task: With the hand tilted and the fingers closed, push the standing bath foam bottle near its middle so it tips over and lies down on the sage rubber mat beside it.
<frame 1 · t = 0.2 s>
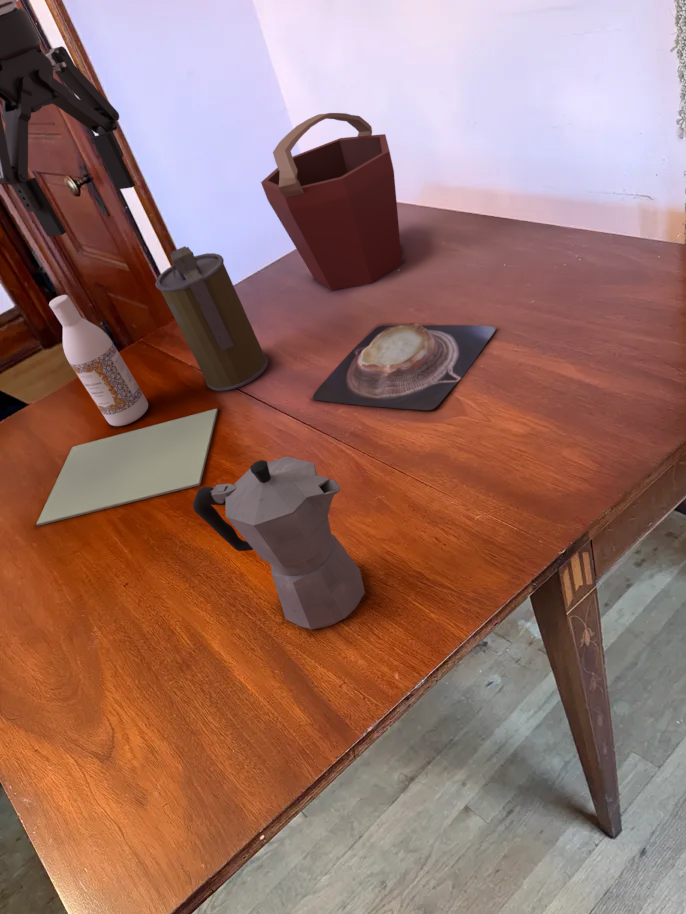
hand: (93, 210, 96), 30 cm above the table, tool pointing down, fingers open, 13 cm apart
coffeepot: (315, 597, 78), on the table
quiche: (404, 365, 108), on the table
bath foam: (130, 415, 119), on the table
bucket: (357, 267, 137), on the table
mat: (132, 465, 107), on the table
canister: (238, 374, 119), on the table
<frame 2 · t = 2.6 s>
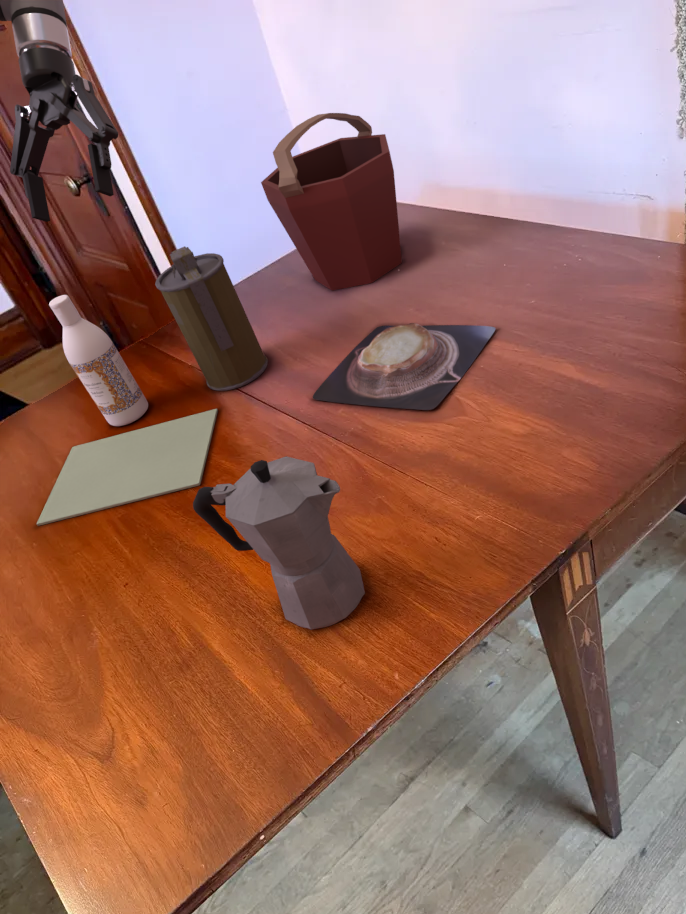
hand: (72, 206, 112), 27 cm above the table, tool tilted 40°, fingers open, 13 cm apart
nothing on the table moved.
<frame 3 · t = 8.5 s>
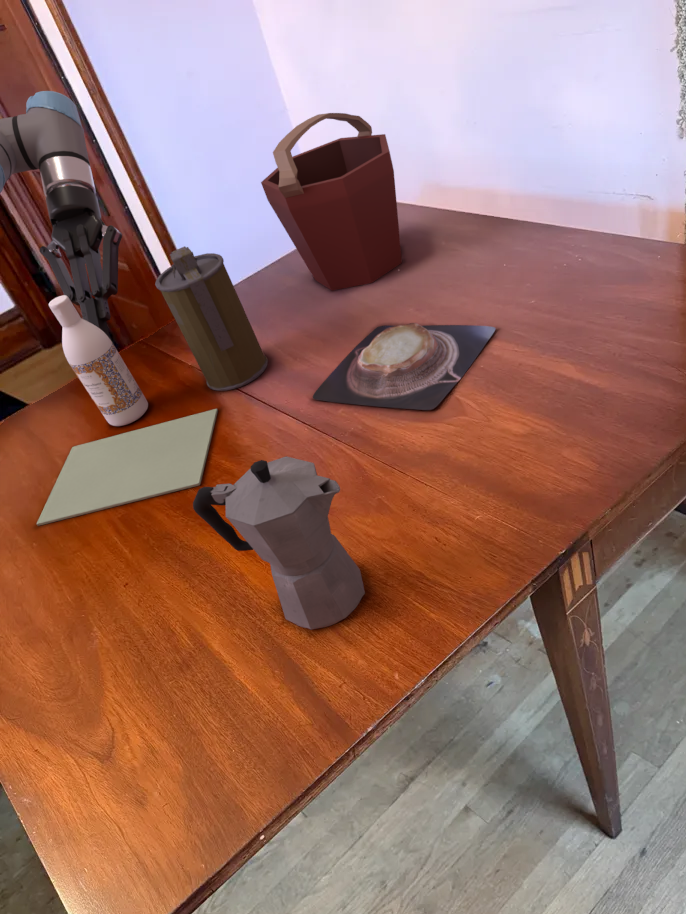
hand: (102, 342, 115), 11 cm above the table, tool tilted 45°, fingers closed
bath foam: (129, 415, 119), on the table, touching gripper
everything else where it was.
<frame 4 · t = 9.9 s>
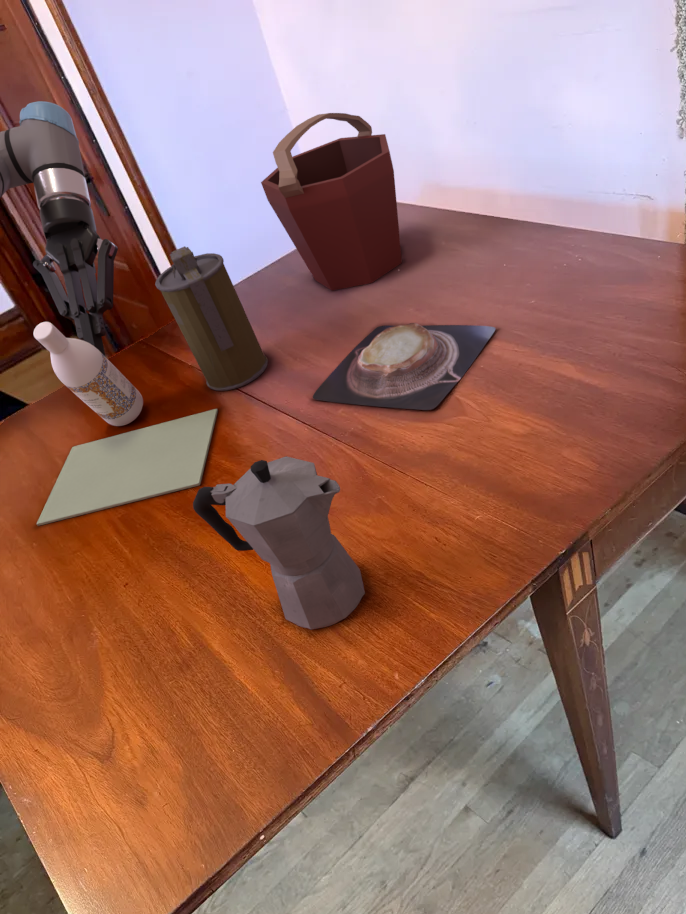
hand: (96, 358, 112), 10 cm above the table, tool tilted 45°, fingers closed
bath foam: (125, 408, 118), point 1 cm above the table, touching gripper
everything else where it was.
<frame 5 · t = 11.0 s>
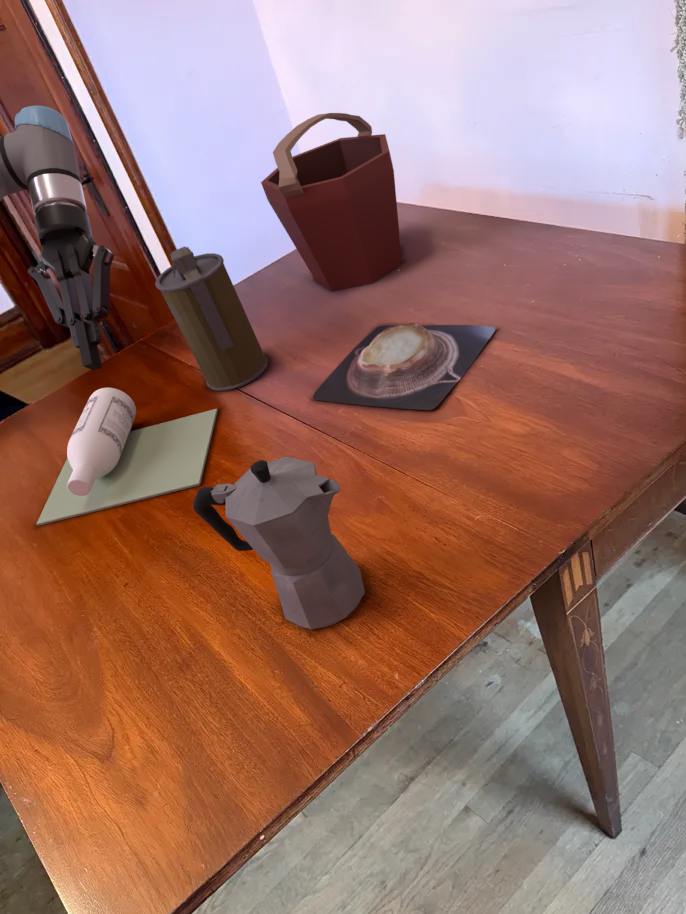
hand: (92, 366, 111), 10 cm above the table, tool tilted 45°, fingers closed
bath foam: (113, 405, 114), point 4 cm above the table, touching mat
everything else where it was.
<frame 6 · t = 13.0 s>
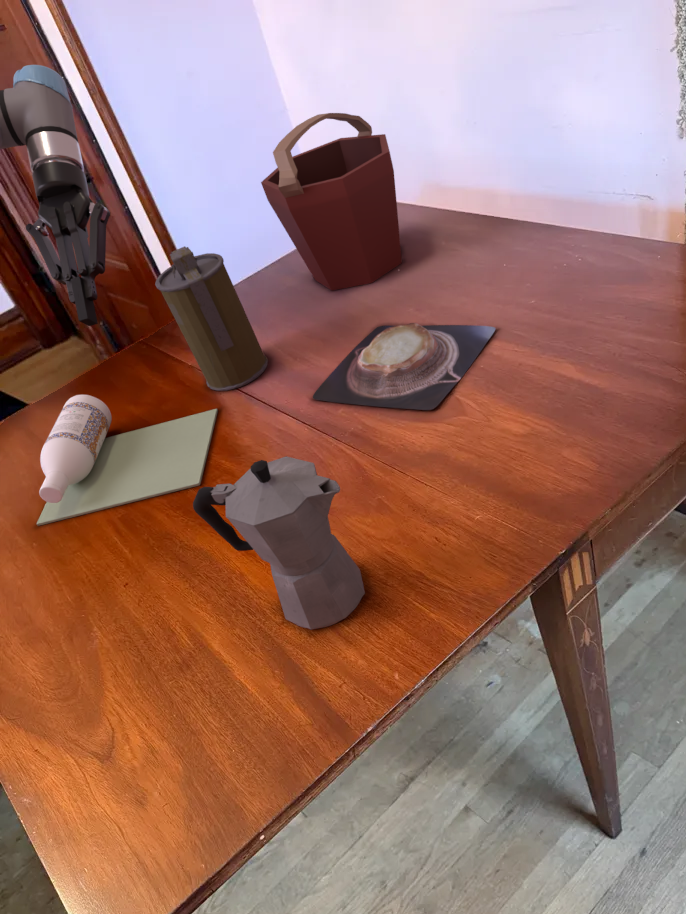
hand: (88, 322, 113), 14 cm above the table, tool tilted 45°, fingers closed
bath foam: (89, 411, 114), point 4 cm above the table, touching mat
everything else where it was.
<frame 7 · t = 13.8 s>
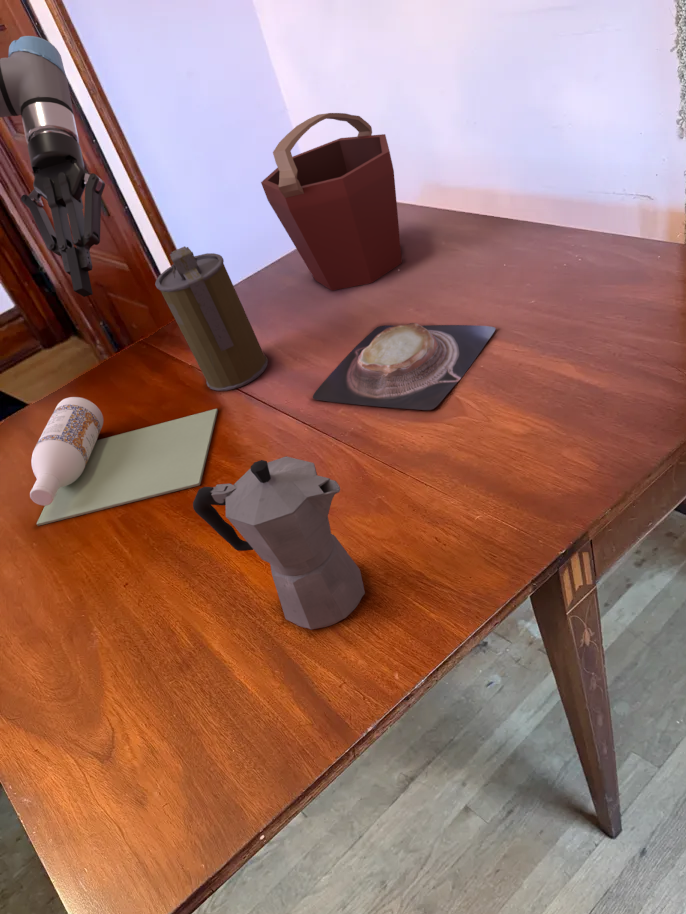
hand: (83, 292, 113), 17 cm above the table, tool tilted 45°, fingers closed
bath foam: (81, 414, 115), point 4 cm above the table, touching mat
everything else where it was.
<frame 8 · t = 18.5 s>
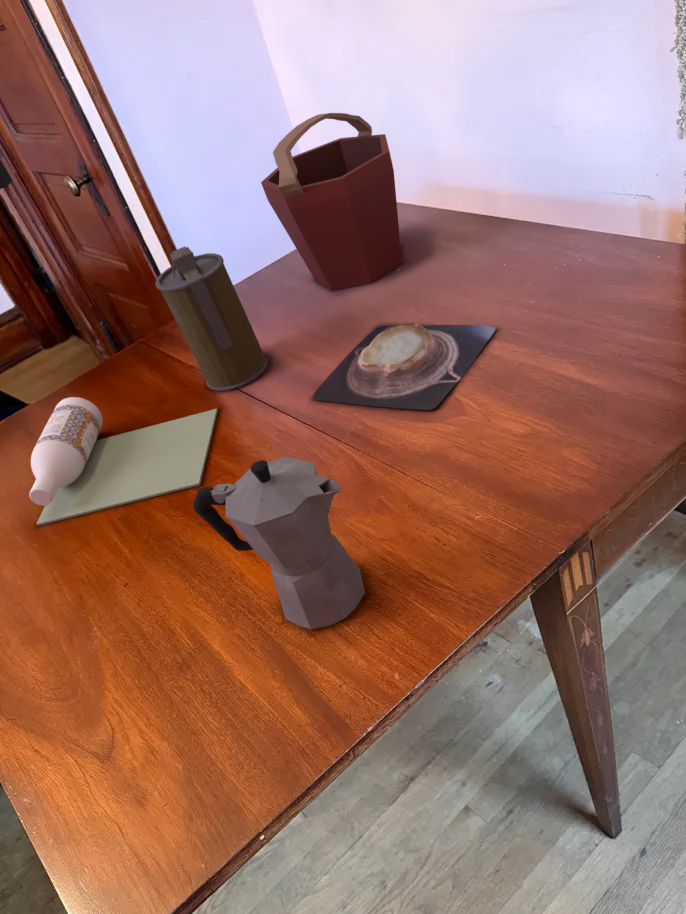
hand: (5, 185, 110), 32 cm above the table, tool pointing down, fingers closed
nothing on the table moved.
at the end: bath foam tilted 90°; bath foam touching mat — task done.
